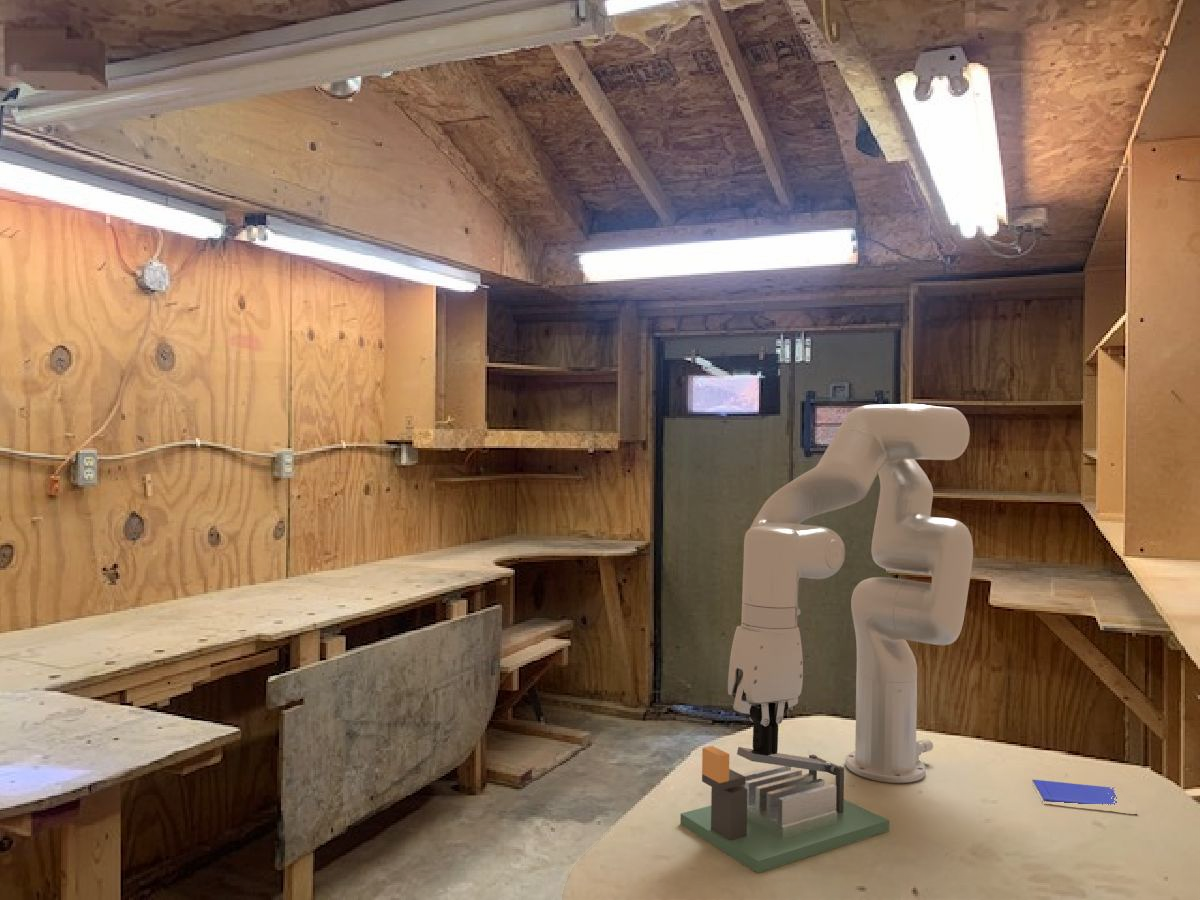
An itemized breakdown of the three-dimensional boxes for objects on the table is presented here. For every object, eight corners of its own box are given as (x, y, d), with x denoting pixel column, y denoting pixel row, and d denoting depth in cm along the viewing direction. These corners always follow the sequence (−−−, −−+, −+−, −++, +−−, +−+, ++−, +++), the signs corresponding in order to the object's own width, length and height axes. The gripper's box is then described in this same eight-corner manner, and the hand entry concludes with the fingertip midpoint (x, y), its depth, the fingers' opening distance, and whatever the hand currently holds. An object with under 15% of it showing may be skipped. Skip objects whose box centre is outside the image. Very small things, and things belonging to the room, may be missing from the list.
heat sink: (785, 796, 127) (786, 763, 127) (837, 822, 118) (837, 786, 118) (733, 810, 122) (733, 775, 122) (782, 838, 113) (783, 800, 113)
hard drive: (1119, 787, 134) (1032, 777, 137) (1137, 807, 126) (1043, 797, 129) (1119, 797, 134) (1032, 787, 137) (1137, 818, 126) (1043, 808, 129)
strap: (819, 767, 126) (821, 757, 126) (837, 775, 123) (840, 765, 123) (735, 754, 118) (737, 744, 118) (752, 763, 115) (755, 752, 115)
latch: (727, 775, 117) (728, 742, 117) (745, 784, 114) (745, 750, 114) (702, 781, 115) (702, 747, 115) (719, 790, 112) (719, 756, 112)
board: (805, 790, 133) (806, 740, 133) (889, 830, 119) (889, 774, 119) (680, 824, 121) (681, 768, 121) (757, 873, 107) (758, 810, 107)
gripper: (790, 609, 125) (786, 736, 125) (709, 615, 118) (704, 751, 117) (828, 618, 119) (824, 752, 119) (745, 625, 111) (740, 768, 111)
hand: (764, 751), depth 118 cm, fingers closed
